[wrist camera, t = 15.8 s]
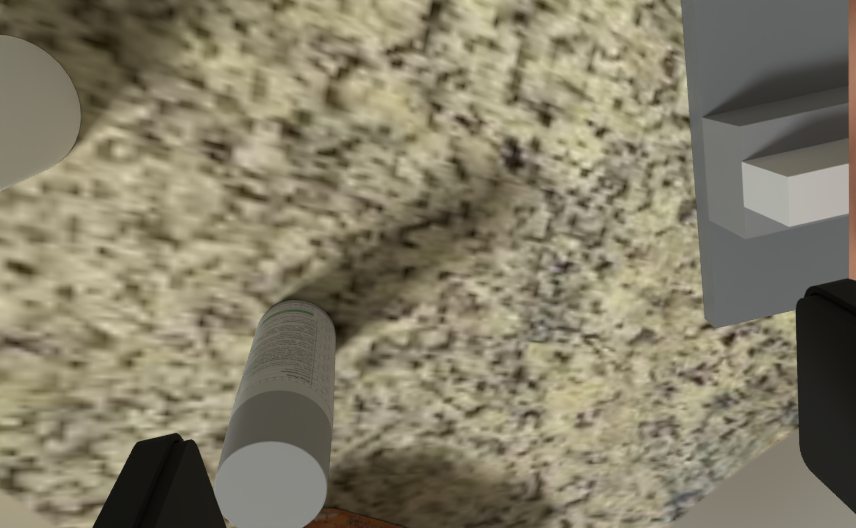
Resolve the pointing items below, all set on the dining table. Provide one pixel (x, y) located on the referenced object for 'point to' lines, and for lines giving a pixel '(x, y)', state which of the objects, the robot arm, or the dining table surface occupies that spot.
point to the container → (281, 422)
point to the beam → (852, 139)
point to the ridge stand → (768, 150)
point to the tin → (346, 520)
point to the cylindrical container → (33, 111)
